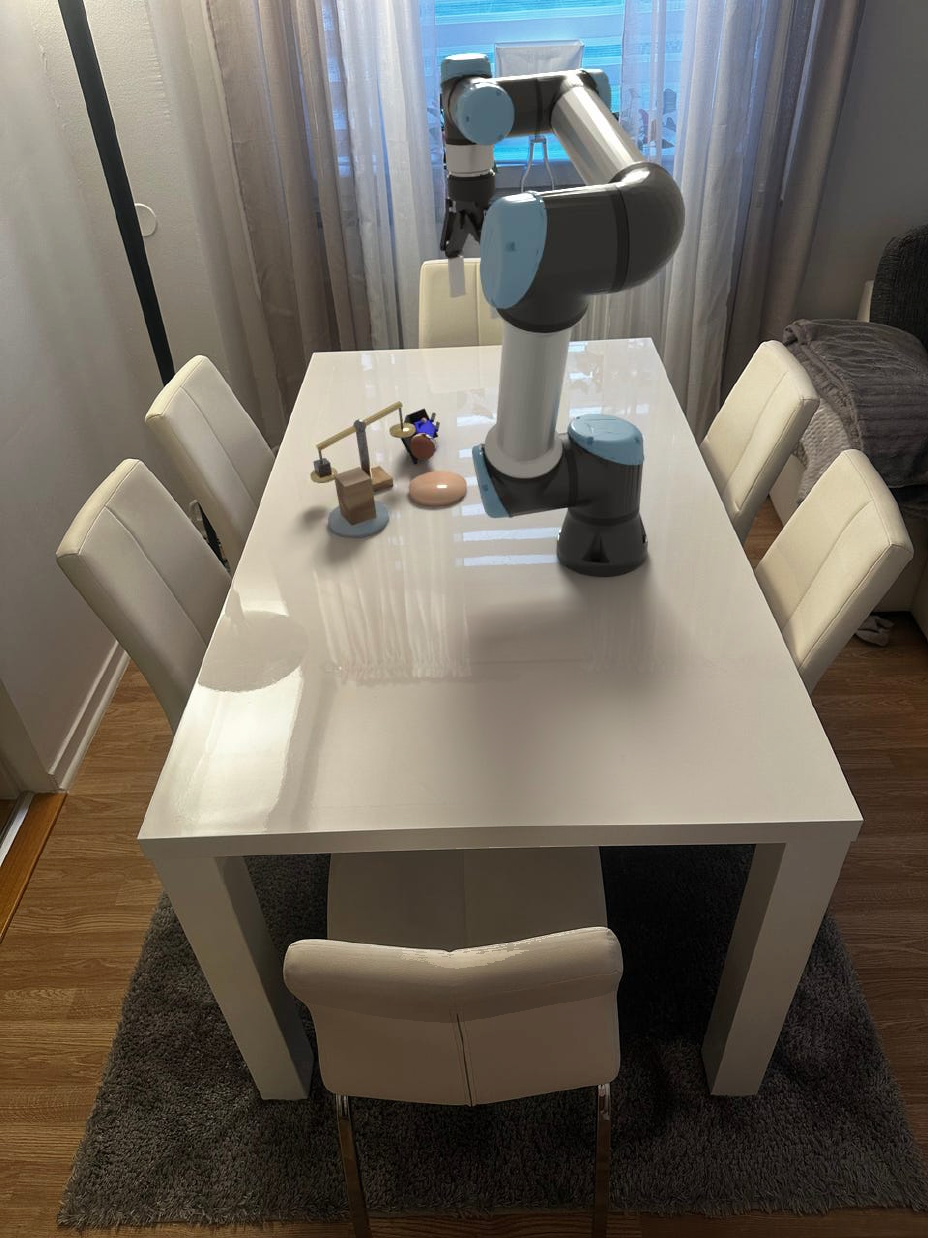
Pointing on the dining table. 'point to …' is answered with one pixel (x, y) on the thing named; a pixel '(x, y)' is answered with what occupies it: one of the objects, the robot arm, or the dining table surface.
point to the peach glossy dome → (437, 488)
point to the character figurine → (421, 436)
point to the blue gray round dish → (361, 529)
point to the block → (355, 496)
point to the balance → (362, 449)
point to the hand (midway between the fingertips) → (477, 306)
